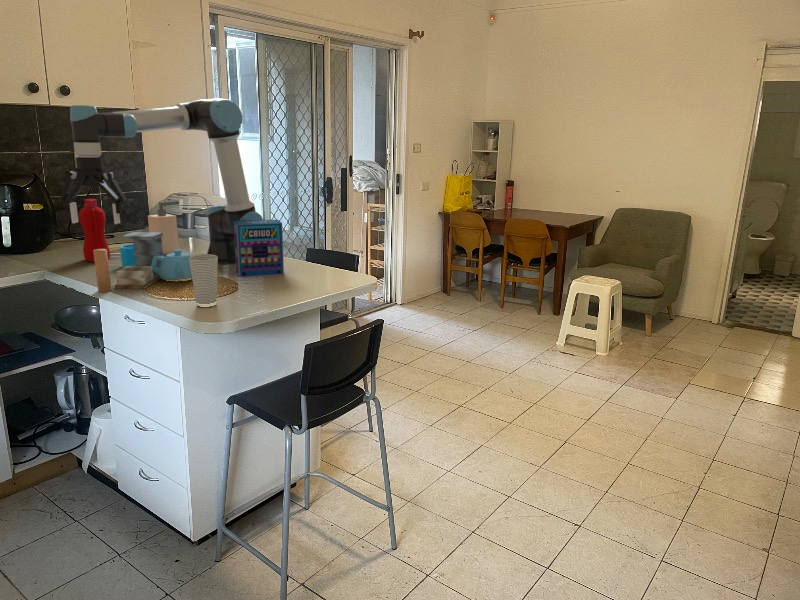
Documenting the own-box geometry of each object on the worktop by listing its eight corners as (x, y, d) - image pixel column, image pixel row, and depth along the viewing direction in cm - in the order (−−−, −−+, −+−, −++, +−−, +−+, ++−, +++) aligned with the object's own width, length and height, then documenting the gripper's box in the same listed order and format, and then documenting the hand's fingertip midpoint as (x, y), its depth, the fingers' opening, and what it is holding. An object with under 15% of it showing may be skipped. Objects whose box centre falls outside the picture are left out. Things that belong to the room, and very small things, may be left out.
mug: (126, 269, 230) (124, 249, 228) (119, 266, 236) (117, 245, 234) (157, 265, 238) (155, 245, 236) (150, 262, 244) (148, 242, 242)
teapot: (179, 272, 229) (177, 244, 226) (210, 276, 223) (208, 248, 220) (148, 280, 215) (145, 251, 212) (180, 285, 210) (178, 255, 207)
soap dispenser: (161, 254, 259) (157, 203, 253) (150, 252, 264) (146, 202, 258) (187, 250, 268) (183, 201, 262) (176, 248, 273) (172, 200, 267)
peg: (113, 289, 202) (108, 249, 198) (108, 292, 198) (103, 251, 195) (101, 289, 202) (96, 248, 198) (96, 292, 198) (91, 251, 194)
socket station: (166, 275, 223) (162, 232, 218) (145, 289, 203) (141, 242, 199) (136, 275, 222) (132, 232, 218) (113, 288, 203) (107, 241, 199)
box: (279, 269, 236) (277, 219, 230) (283, 274, 228) (282, 222, 222) (236, 272, 230) (233, 220, 224) (239, 277, 222) (236, 224, 216)
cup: (208, 310, 181) (205, 260, 177) (186, 307, 184) (182, 258, 180) (226, 303, 189) (223, 255, 185) (204, 300, 192) (201, 253, 188)
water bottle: (88, 263, 238) (80, 201, 232) (83, 259, 247) (75, 198, 240) (113, 261, 244) (106, 200, 237) (107, 256, 252) (100, 197, 245)
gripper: (133, 156, 192) (139, 222, 198) (55, 155, 192) (63, 220, 197) (123, 157, 185) (130, 225, 191) (42, 155, 184) (51, 224, 190)
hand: (96, 223), depth 194 cm, fingers open, 13 cm apart
